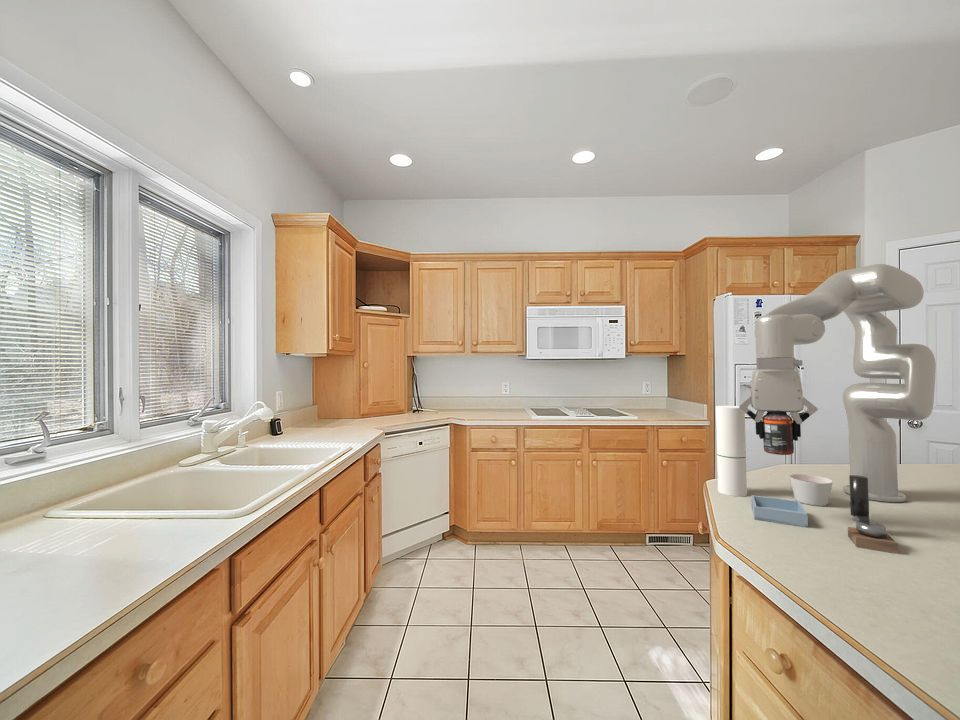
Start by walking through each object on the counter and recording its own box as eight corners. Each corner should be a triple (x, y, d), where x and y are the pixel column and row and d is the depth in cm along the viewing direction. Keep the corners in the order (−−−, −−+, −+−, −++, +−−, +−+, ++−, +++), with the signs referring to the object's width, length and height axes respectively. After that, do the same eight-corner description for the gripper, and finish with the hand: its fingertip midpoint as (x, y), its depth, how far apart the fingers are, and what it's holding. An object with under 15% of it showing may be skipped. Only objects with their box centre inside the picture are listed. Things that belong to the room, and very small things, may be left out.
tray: (751, 506, 103) (751, 495, 103) (800, 513, 98) (799, 501, 98) (754, 519, 95) (754, 506, 95) (807, 527, 90) (807, 514, 90)
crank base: (847, 535, 85) (847, 525, 85) (886, 541, 82) (886, 531, 82) (856, 546, 80) (855, 535, 80) (897, 553, 77) (897, 542, 77)
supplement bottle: (787, 450, 98) (786, 405, 99) (798, 456, 93) (796, 408, 93) (759, 449, 100) (758, 405, 100) (768, 455, 95) (767, 407, 95)
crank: (890, 538, 78) (888, 490, 78) (859, 534, 80) (858, 486, 80) (871, 519, 88) (869, 476, 88) (844, 516, 90) (843, 473, 90)
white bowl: (787, 502, 106) (787, 478, 106) (792, 494, 113) (791, 472, 113) (832, 510, 100) (831, 485, 100) (834, 501, 106) (833, 478, 107)
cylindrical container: (746, 491, 116) (744, 406, 117) (747, 497, 110) (744, 408, 111) (718, 487, 120) (716, 405, 121) (717, 493, 114) (715, 407, 115)
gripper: (817, 364, 96) (819, 438, 95) (732, 365, 104) (735, 434, 104) (824, 364, 89) (827, 444, 89) (734, 366, 98) (736, 438, 98)
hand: (777, 438), depth 97 cm, fingers closed on supplement bottle, 6 cm apart
